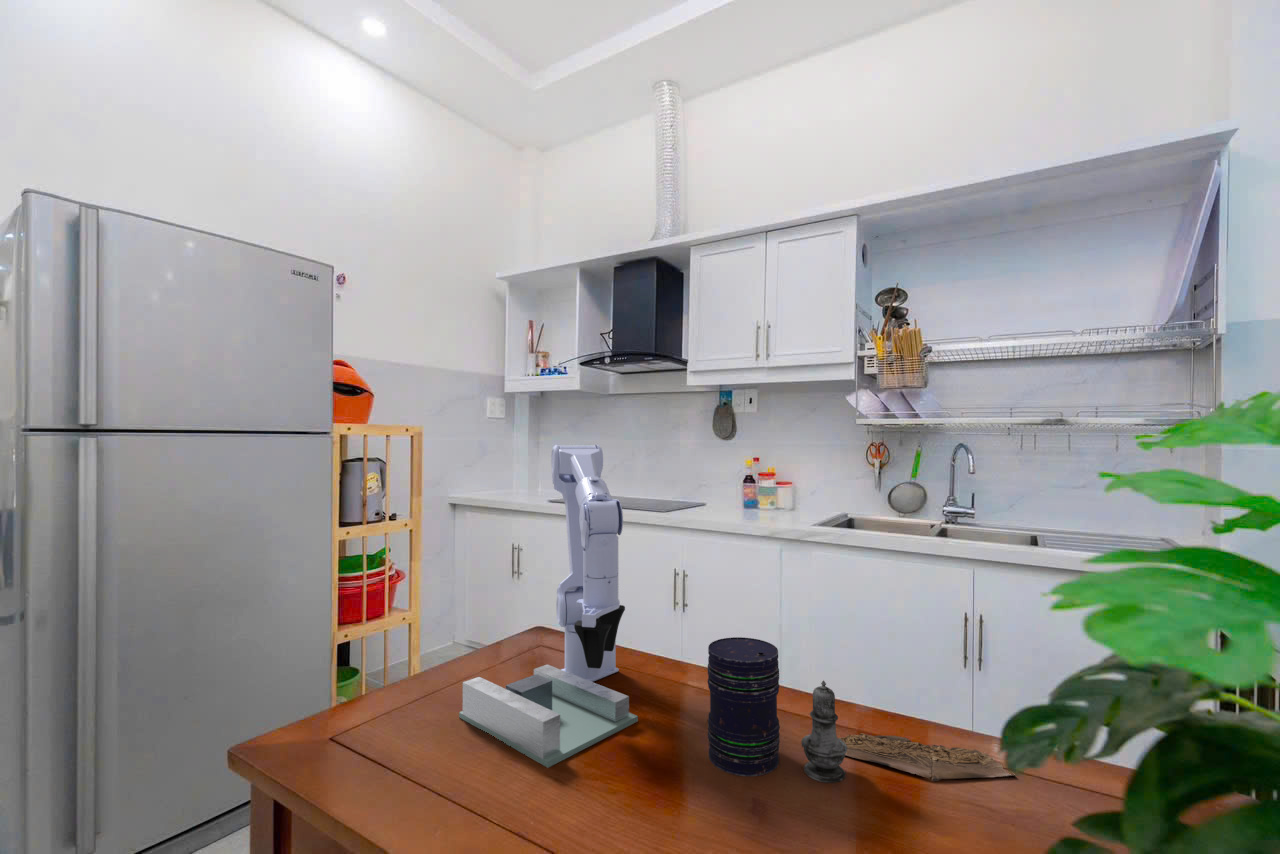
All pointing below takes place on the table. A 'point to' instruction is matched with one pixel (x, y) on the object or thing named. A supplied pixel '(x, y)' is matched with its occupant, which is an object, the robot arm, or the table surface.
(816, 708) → the salt shaker
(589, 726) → the vise base
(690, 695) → the table surface
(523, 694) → the steel block
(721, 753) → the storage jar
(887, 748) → the wooden fragment
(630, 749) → the table surface
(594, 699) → the bar
